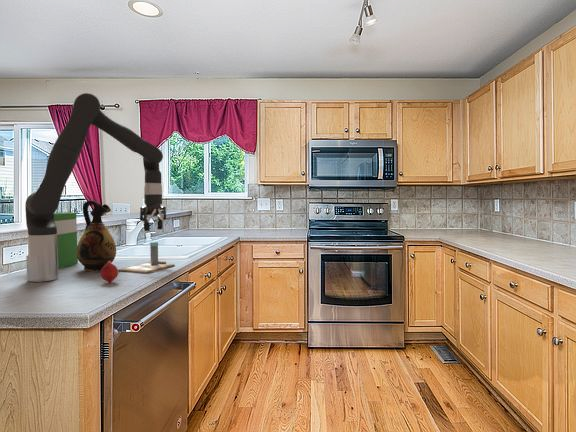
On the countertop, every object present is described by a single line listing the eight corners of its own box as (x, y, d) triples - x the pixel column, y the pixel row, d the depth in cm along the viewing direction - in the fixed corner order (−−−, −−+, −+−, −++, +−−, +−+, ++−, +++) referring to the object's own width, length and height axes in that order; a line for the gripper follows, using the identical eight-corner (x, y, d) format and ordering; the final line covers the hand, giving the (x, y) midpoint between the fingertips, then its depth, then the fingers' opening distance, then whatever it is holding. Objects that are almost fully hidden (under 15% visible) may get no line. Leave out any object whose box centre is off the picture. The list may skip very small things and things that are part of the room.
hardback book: (54, 270, 164) (52, 214, 162) (37, 270, 164) (35, 214, 163) (77, 263, 181) (76, 212, 180) (62, 263, 181) (60, 212, 180)
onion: (109, 285, 136) (108, 262, 136) (97, 283, 138) (96, 261, 138) (121, 281, 142) (121, 260, 141) (109, 280, 144) (109, 259, 143)
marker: (155, 265, 169) (154, 242, 169) (148, 265, 170) (148, 242, 170) (160, 264, 172) (159, 242, 172) (154, 263, 173) (153, 241, 173)
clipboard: (147, 273, 156) (147, 269, 156) (118, 271, 161) (118, 266, 161) (174, 266, 173) (174, 262, 173) (147, 264, 178) (147, 260, 178)
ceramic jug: (124, 266, 172) (122, 199, 170) (101, 273, 157) (99, 200, 155) (90, 265, 175) (88, 199, 173) (65, 272, 160) (62, 200, 158)
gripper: (157, 193, 178) (157, 228, 178) (134, 193, 164) (135, 231, 165) (170, 193, 175) (170, 229, 176) (149, 193, 162) (149, 231, 162)
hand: (153, 230), depth 170 cm, fingers open, 8 cm apart
